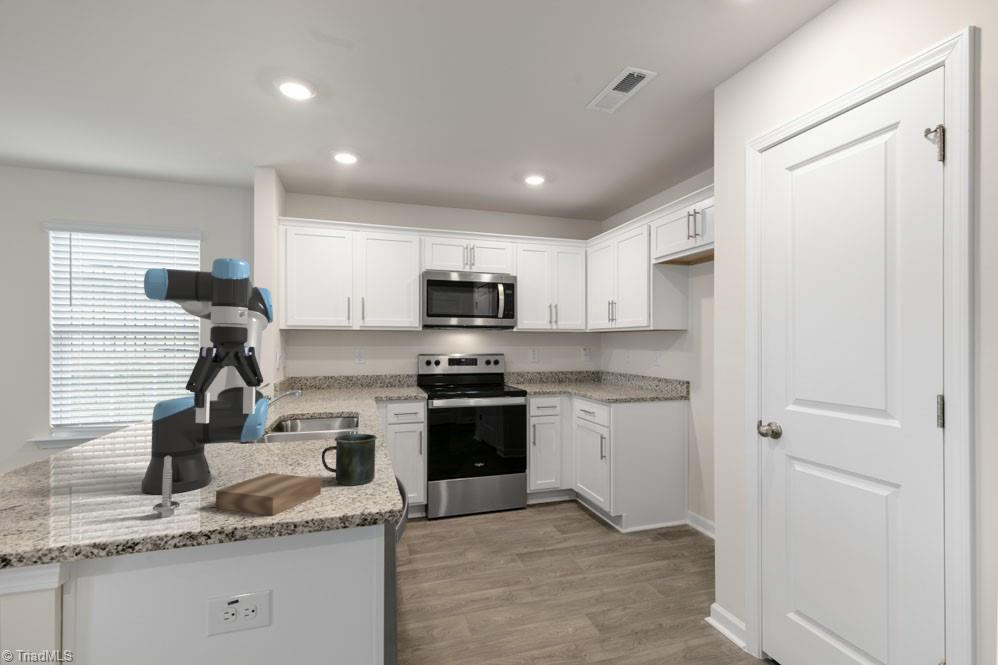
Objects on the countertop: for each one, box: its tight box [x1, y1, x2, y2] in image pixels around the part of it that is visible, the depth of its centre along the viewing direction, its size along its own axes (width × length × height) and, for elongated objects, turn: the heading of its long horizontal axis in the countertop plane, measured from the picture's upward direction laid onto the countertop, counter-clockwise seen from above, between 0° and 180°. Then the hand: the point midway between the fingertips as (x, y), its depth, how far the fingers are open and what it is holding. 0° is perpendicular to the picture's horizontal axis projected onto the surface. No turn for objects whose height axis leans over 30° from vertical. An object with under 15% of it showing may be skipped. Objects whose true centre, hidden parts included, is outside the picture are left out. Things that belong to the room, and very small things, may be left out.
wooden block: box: [215, 472, 322, 517], centre depth 112 cm, size 16×16×4 cm
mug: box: [321, 433, 378, 486], centre depth 129 cm, size 11×15×12 cm
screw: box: [152, 456, 181, 519], centre depth 102 cm, size 13×5×5 cm
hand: (226, 417), depth 108 cm, fingers open, 13 cm apart
